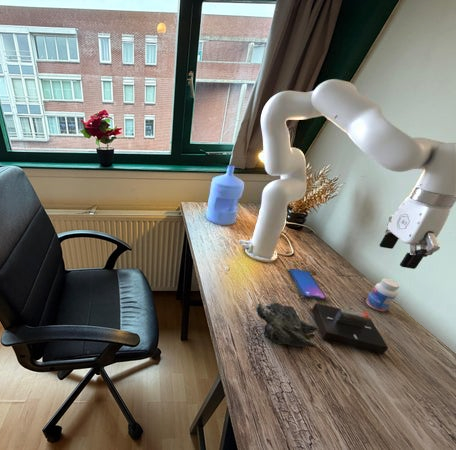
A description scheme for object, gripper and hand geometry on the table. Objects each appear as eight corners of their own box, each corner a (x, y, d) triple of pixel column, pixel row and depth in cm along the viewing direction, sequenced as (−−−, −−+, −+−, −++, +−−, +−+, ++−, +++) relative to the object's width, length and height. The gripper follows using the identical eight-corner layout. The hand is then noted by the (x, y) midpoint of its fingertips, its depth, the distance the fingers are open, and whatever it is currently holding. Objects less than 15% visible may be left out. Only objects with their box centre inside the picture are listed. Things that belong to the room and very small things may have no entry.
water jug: (199, 214, 132) (208, 163, 119) (222, 211, 138) (233, 161, 125) (217, 228, 120) (229, 171, 107) (242, 223, 126) (255, 169, 113)
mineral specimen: (274, 348, 57) (284, 306, 58) (241, 327, 69) (250, 293, 70) (322, 359, 61) (331, 319, 62) (282, 338, 73) (290, 304, 74)
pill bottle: (361, 299, 81) (375, 276, 77) (375, 298, 82) (390, 276, 77) (375, 312, 76) (391, 288, 72) (390, 311, 77) (407, 288, 72)
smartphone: (308, 270, 92) (328, 299, 79) (308, 272, 92) (326, 301, 79) (288, 268, 93) (304, 295, 79) (287, 270, 93) (303, 297, 80)
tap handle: (336, 322, 68) (342, 311, 66) (334, 317, 69) (340, 306, 67) (363, 328, 67) (370, 317, 65) (360, 324, 68) (367, 313, 66)
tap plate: (322, 339, 66) (327, 331, 65) (311, 309, 76) (315, 302, 74) (382, 355, 63) (388, 347, 62) (363, 322, 73) (368, 314, 71)
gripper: (392, 185, 67) (364, 238, 75) (440, 209, 52) (398, 273, 60) (425, 188, 65) (393, 243, 73) (484, 214, 50) (435, 279, 58)
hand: (395, 256), depth 66 cm, fingers open, 9 cm apart
